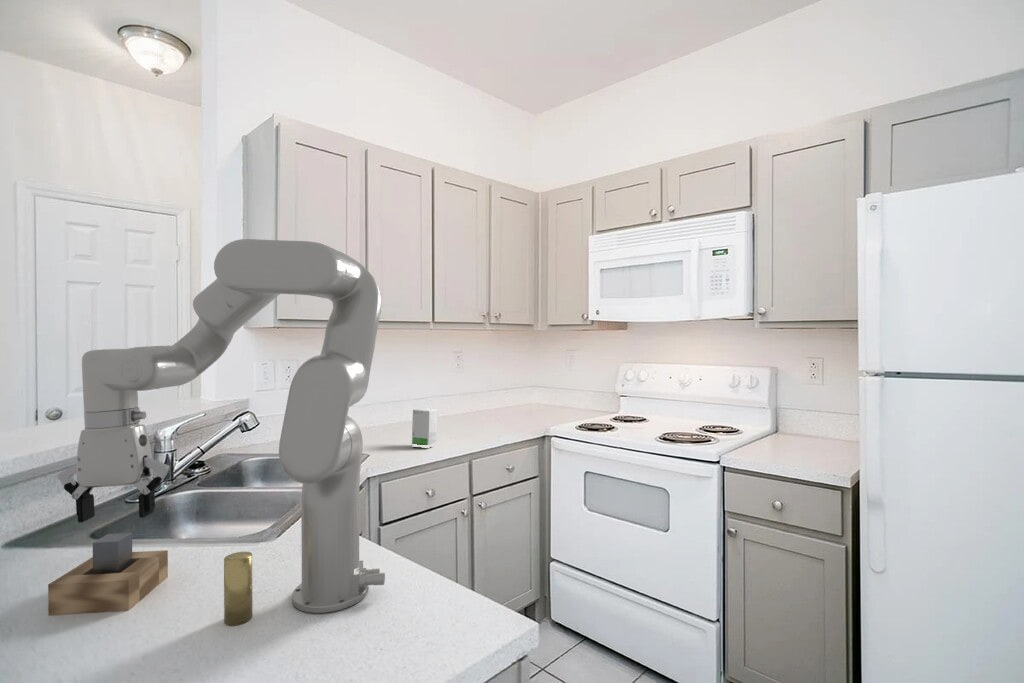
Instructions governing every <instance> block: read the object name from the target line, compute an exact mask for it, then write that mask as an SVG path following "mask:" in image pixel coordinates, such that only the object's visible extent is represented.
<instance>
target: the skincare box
mask: <svg viewBox="0 0 1024 683" xmlns="http://www.w3.org/2000/svg"><path fill="white" fill-rule="evenodd" d="M437 424H438V409H435V408H427V407H418V408H414V409H412V428H411V430H412V431H411V445H412V444H417V445H431V444H433V443H435V442H436V443H437V432H438V431H437V429H438V427H437V426H438V425H437Z"/></svg>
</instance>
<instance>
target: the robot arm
mask: <svg viewBox="0 0 1024 683" xmlns="http://www.w3.org/2000/svg"><path fill="white" fill-rule="evenodd" d="M213 270H214V274H215V276H216V279H214V280H213V281H212V282H211V283H210V284H209V285H208V286H207V287H205V288H204V289H203V290H202V291H201V292H199V293H198V294H197V295H196V296H194V299H193V300H192V307H193V310H194V312H195V314H196V316H197V318H198V320H197V322H196V324H195V325H194V326H193V327H192V329H191V330H189V332H187V333H186V334H185V335H183V336H182V338H180V339H179V340H177V341H176V342H175V343H174V344H173V345H152V346H151V345H150V346H148V345H146V346H135V347H130V348H105V349H93V350H88V351H86V352H84V353H83V354H82V356H81V376H82V377H81V378H82V397H83V418H84V419H83V420H84V429H82V430H81V431H80V435H79V438H78V444H77V453H76V464H74V465H73V466H70V467H68V468H67V469H65V470H63V471H61V472H59V473H58V474H57V478H58V480H59V481H60V482H61V483H60V484H62V485H63V489H64V490H65V491H66V492H67V493H69V495H70V496H71V497H70V498H71V499H72V500H75V508H76V509H75V511H76V516H77V523H84V522H86V521H88V520H90V519H92V518H94V517H95V496H94V494H93V493H91V492H92V491H93V489H94V488H103V487H104V488H105V487H119V486H130V485H133V486H134V487H135V488H136V489H137V490H138V491H140V493H141V494H139V495H138V498H137V499H138V516H139V518H141V519H142V518H143V519H144V518H147V516H150V515H151V514H153V513H154V510H155V508H156V500H155V499H156V497H155V490H157V489H158V488H159V486H160V485H161V484H162V483H164V482H165V480H166V477H167V475H168V473H169V471H170V465H169V464H166V463H164V462H162V461H159V460H157V459H153V456H152V448H151V442H150V438H149V435H148V431H147V428H146V425H145V424H142V423H141V420H145V419H146V418H147V412H146V411H141V410H140V407H139V395H138V394H139V391H140V392H145V391H146V392H147V391H152V390H159V389H164V388H169V387H170V388H171V387H177V386H183V385H185V384H187V383H190V382H192V381H194V380H195V379H196V378H198V377H200V376H201V374H203V373H204V372H205V371H207V369H209V368H210V367H211V366H213V364H214V363H215V362H217V361H218V360H219V359H220V358H221V357H222V356H223V354H224V353H225V352H226V350H227V349H228V347H229V345H230V343H231V342H232V340H233V337H234V335H235V333H236V332H238V330H239V329H241V328H242V327H243V326H245V324H247V323H248V322H249V321H250V320H251V319H252V318H253V317H255V316H256V315H257V314H258V313H259V312H260V311H261V310H262V309H264V308H265V307H266V306H268V305H269V304H270V303H271V302H273V301H274V300H275V299H276V298H277V297H278V296H280V295H301V296H310V297H317V298H321V299H328V300H329V301H331V302H332V311H331V313H330V316H329V317H328V321H327V323H326V327H325V331H324V333H325V334H324V338H323V344H322V347H321V352H320V354H319V355H316V356H313V357H310V358H309V359H307V360H306V361H304V362H303V363H302V364H301V365H300V366H299V367H298V368H297V370H296V371H295V374H294V376H293V377H292V380H291V382H290V386H289V391H288V395H287V400H286V401H287V402H286V406H285V410H284V416H283V421H282V428H281V433H280V438H279V444H278V458H279V463H280V467H281V468H282V470H283V472H284V474H286V475H287V477H289V478H290V479H291V480H293V481H295V482H297V483H299V484H302V489H301V510H300V511H301V516H300V518H301V521H300V522H301V527H300V528H301V583H300V584H299V585H298V586H296V587H295V588H294V590H293V591H292V593H291V603H292V605H293V607H295V608H296V609H297V610H300V611H302V612H306V613H309V614H310V613H312V614H324V613H332V612H336V611H337V612H338V611H340V610H344V609H347V608H349V607H352V606H353V605H356V604H357V603H359V602H360V601H362V600H363V599H364V598H365V597H366V595H368V593H369V586H384V585H385V583H386V582H385V580H386V573H385V572H381V571H380V568H372V569H371V568H370V569H367V567H364V560H360V485H361V484H360V482H361V466H362V458H363V449H364V448H363V445H364V442H363V435H362V431H361V429H360V427H359V425H358V424H357V422H356V421H355V420H354V419H353V418H352V417H351V416H348V415H349V409H350V407H352V406H354V405H356V404H357V403H359V402H360V401H361V400H362V399H363V398H364V396H365V394H366V393H367V390H368V388H369V387H368V386H369V381H370V373H371V368H372V363H373V358H374V353H375V346H376V340H377V334H378V329H379V323H380V317H381V310H382V309H381V308H382V298H381V291H380V288H379V285H378V283H377V280H376V279H375V277H374V276H373V275H372V274H371V272H370V271H369V270H368V269H367V268H366V267H365V266H363V264H361V263H360V262H358V261H357V260H356V259H354V258H353V257H351V256H349V255H348V254H346V253H343V252H342V251H339V250H336V249H334V248H332V247H331V246H329V245H327V244H323V243H321V242H317V241H316V242H315V241H307V240H306V241H305V240H281V239H280V240H279V239H257V238H256V239H254V238H252V239H251V238H243V239H242V238H241V239H236V240H232V241H230V242H228V243H226V244H225V245H224V246H222V248H220V250H219V251H218V252H217V254H216V256H215V258H214V261H213ZM140 423H141V424H140ZM154 471H155V476H154V477H153V478H151V477H152V475H153V473H154ZM74 475H76V480H75V477H74Z"/></svg>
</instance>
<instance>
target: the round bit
mask: <svg viewBox="0 0 1024 683" xmlns="http://www.w3.org/2000/svg"><path fill="white" fill-rule="evenodd" d="M223 612H224V613H223V617H224V619H223V624H224V625H225V624H226V625H225V626H227V625H228V626H227V627H236V626H240V625H243V624H246V623H248V622H249V621H251V620H252V618H253V615H254V614H253V553H252V552H251V551H238V552H233V553H230V554H228V555H226V556H225V557H224V558H223Z"/></svg>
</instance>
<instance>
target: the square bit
mask: <svg viewBox="0 0 1024 683" xmlns="http://www.w3.org/2000/svg"><path fill="white" fill-rule="evenodd" d="M132 552H133V532H120V533H107V534H105V535H104V536H102V537H100V538H99V539H96V540H95V541H93V542H92V557H93V574H110V573H121V572H122V571H124V570H125V569H126V568H128V567H129V566H131V565H132Z"/></svg>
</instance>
